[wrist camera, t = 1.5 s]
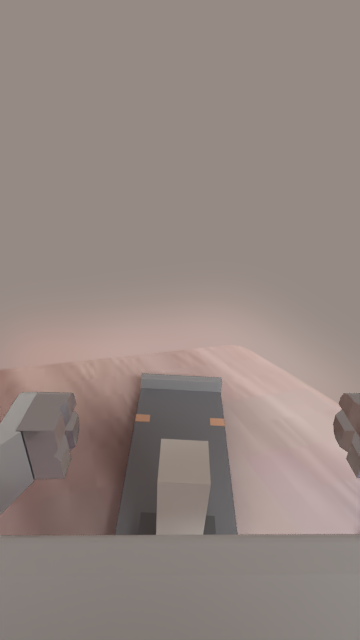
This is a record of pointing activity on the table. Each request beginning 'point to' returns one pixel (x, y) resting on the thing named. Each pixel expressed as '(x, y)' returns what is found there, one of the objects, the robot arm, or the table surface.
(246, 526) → the table surface
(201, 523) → the fader
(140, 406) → the track board
